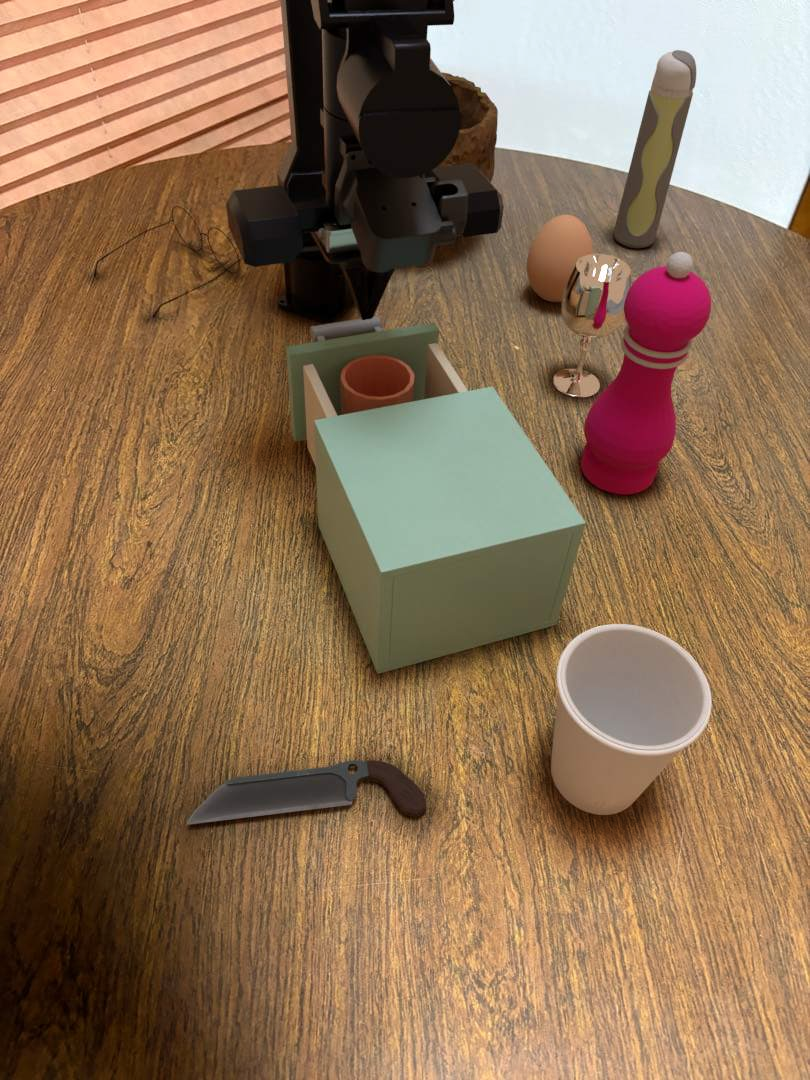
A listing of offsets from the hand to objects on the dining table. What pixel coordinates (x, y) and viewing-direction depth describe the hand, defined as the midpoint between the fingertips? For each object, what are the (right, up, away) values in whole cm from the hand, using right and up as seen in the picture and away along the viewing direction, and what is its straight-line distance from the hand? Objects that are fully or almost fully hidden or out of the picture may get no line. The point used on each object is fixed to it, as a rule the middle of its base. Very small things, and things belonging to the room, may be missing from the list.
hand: (365, 316), depth 66 cm
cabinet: (+5, -20, -2) cm, 21 cm away
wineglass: (+19, -3, +15) cm, 25 cm away
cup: (+1, -9, +5) cm, 10 cm away
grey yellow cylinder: (+30, +18, +35) cm, 49 cm away
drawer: (+1, -10, +6) cm, 11 cm away
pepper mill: (+21, -11, +7) cm, 25 cm away
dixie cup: (+15, -32, -12) cm, 37 cm away
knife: (-3, -33, -15) cm, 36 cm away
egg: (+19, +8, +25) cm, 32 cm away
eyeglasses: (-22, +10, +25) cm, 34 cm away
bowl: (+3, +19, +34) cm, 38 cm away
